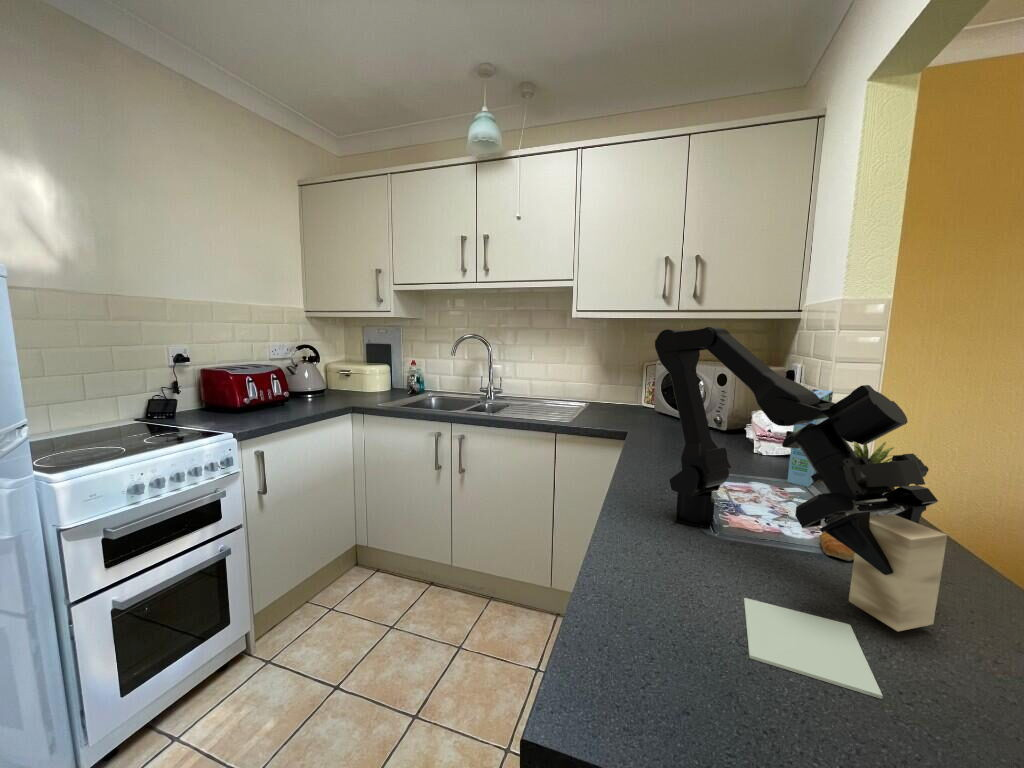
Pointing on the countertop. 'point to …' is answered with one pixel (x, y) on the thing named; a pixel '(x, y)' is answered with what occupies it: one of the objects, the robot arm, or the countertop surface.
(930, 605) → the birch block
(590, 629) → the countertop surface
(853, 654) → the sage mat
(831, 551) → the pastry
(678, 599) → the countertop surface
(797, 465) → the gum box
